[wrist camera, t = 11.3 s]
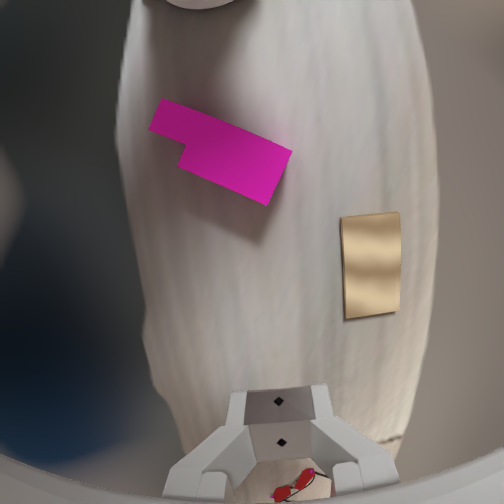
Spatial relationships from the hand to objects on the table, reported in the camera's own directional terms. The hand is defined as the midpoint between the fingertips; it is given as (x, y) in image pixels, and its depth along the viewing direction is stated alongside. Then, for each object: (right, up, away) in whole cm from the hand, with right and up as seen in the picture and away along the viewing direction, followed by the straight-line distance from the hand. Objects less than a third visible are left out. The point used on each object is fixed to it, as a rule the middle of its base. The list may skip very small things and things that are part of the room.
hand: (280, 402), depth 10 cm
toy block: (-5, +15, +22) cm, 28 cm away
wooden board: (+15, +3, +33) cm, 36 cm away
